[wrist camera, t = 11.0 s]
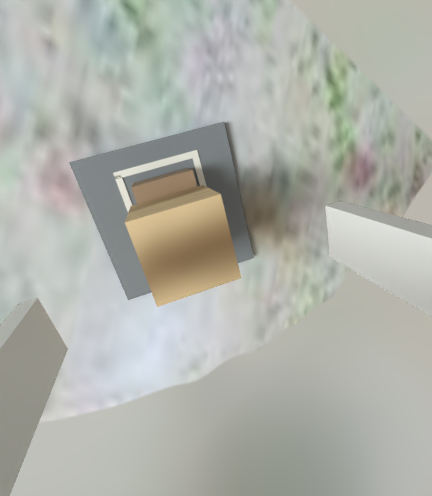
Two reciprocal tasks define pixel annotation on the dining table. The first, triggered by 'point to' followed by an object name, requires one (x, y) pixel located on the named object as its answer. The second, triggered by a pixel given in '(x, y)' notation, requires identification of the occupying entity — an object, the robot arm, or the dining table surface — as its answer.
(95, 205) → the mat
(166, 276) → the oak block
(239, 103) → the dining table surface
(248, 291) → the dining table surface
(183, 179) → the base block
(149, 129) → the dining table surface
